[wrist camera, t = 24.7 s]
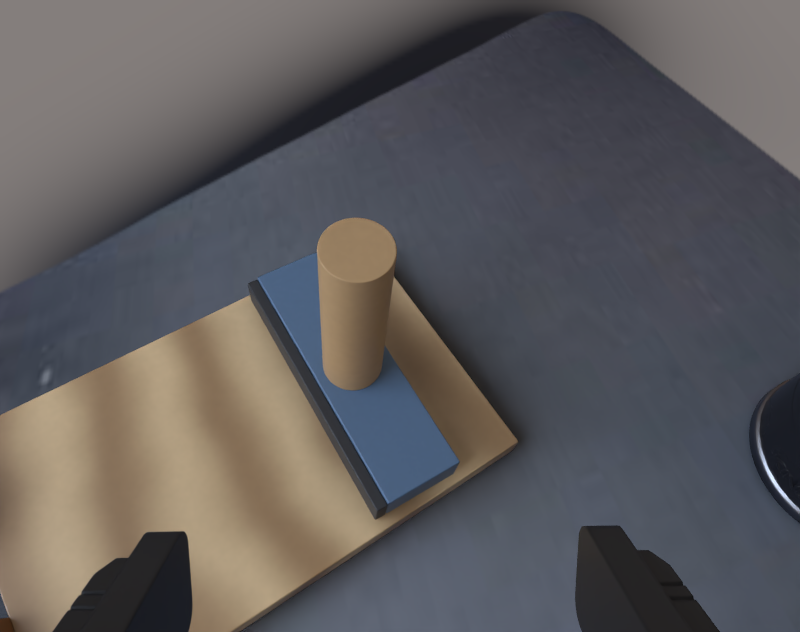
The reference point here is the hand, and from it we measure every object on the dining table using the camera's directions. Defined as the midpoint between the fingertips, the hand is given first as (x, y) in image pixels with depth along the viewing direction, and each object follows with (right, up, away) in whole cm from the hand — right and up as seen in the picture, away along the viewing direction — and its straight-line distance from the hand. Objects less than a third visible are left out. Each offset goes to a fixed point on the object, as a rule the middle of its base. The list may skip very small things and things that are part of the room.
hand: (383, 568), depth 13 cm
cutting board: (-8, -2, +21) cm, 22 cm away
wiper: (-2, +2, +22) cm, 22 cm away
